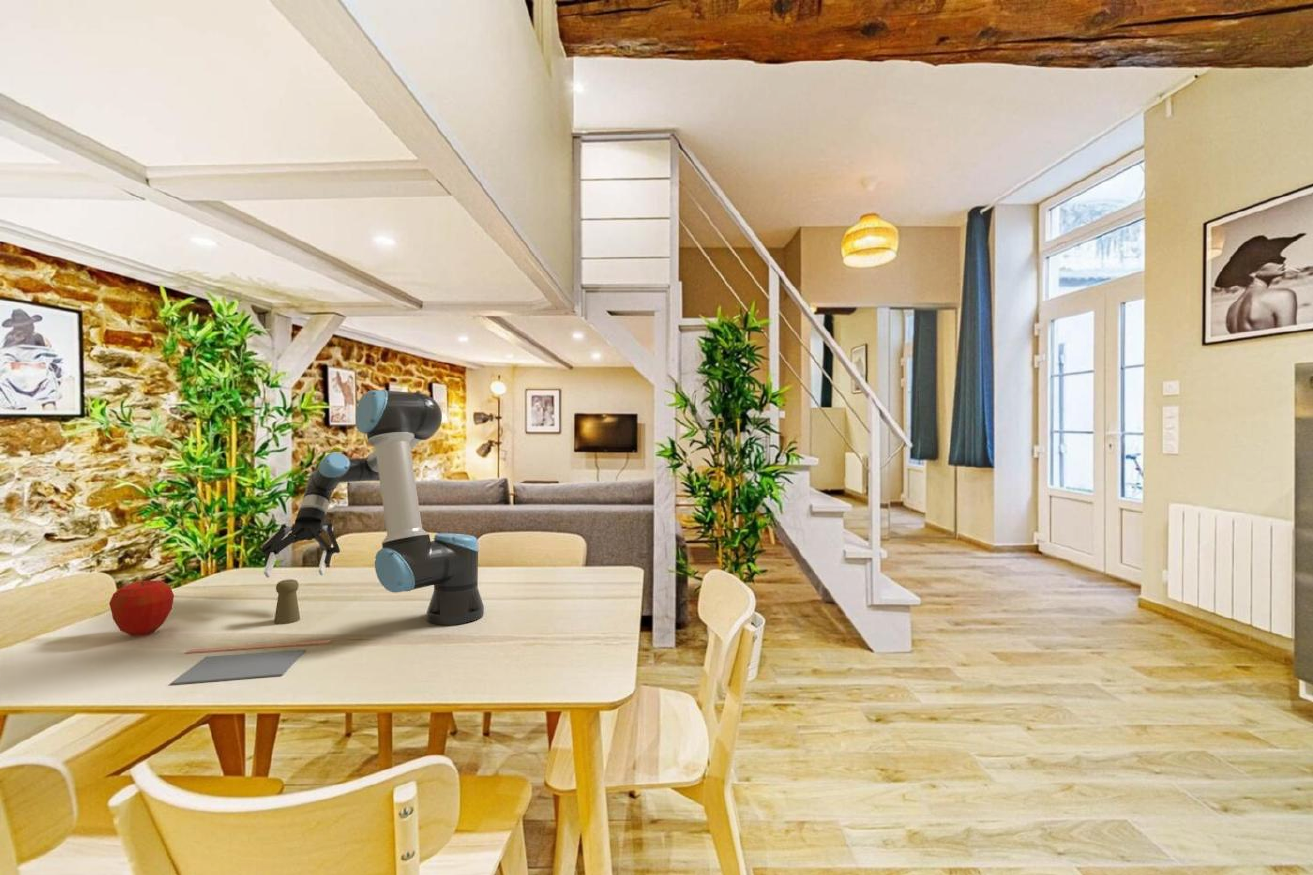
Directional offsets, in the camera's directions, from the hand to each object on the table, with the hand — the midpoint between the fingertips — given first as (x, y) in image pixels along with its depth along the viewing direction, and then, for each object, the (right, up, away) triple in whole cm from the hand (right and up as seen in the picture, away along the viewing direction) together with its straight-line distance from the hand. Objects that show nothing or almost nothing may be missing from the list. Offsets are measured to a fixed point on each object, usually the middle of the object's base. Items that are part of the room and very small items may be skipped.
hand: (293, 573), depth 162 cm
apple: (-27, -11, -18) cm, 34 cm away
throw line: (+8, -11, -25) cm, 29 cm away
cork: (+2, -11, -6) cm, 13 cm away
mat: (+12, -12, -37) cm, 40 cm away
